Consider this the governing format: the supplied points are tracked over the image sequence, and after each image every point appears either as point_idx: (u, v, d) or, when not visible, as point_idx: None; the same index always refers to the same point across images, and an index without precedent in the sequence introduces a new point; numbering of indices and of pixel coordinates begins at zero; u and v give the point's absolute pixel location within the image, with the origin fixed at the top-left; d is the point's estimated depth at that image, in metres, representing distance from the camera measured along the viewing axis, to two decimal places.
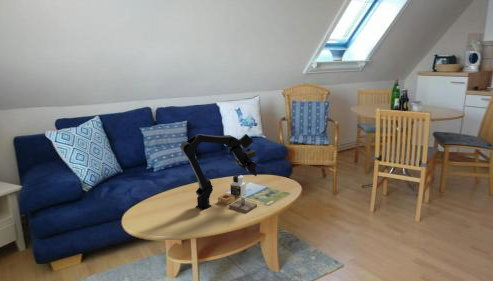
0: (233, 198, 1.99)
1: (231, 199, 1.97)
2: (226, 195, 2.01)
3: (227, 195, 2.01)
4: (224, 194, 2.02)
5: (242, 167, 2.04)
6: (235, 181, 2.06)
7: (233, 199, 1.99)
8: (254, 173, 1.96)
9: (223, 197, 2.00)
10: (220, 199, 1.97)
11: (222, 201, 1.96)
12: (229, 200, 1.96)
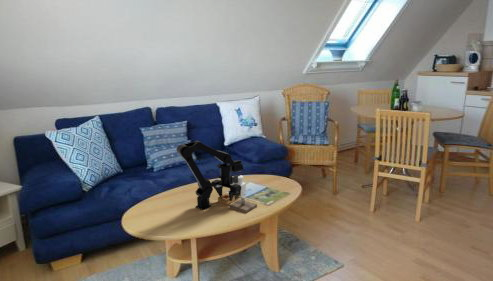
0: (233, 198, 1.99)
1: None
2: (226, 195, 2.01)
3: (227, 195, 2.01)
4: (224, 194, 2.02)
5: (218, 191, 1.99)
6: None
7: (233, 199, 1.99)
8: (231, 197, 1.96)
9: (223, 197, 2.00)
10: (220, 199, 1.97)
11: (222, 201, 1.96)
12: (229, 200, 1.96)
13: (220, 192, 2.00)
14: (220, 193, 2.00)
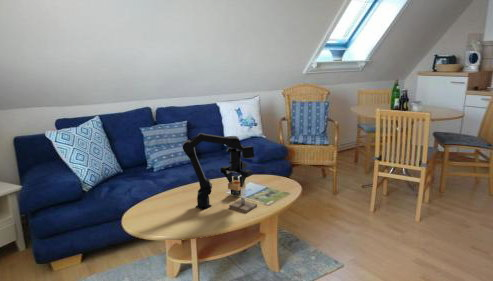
0: (244, 184, 1.92)
1: None
2: (236, 181, 1.94)
3: (237, 181, 1.94)
4: (234, 180, 1.95)
5: (228, 177, 1.92)
6: None
7: (244, 185, 1.92)
8: (242, 183, 1.89)
9: (233, 183, 1.93)
10: (230, 185, 1.90)
11: (233, 187, 1.89)
12: (240, 186, 1.89)
13: (230, 178, 1.93)
14: (230, 179, 1.93)
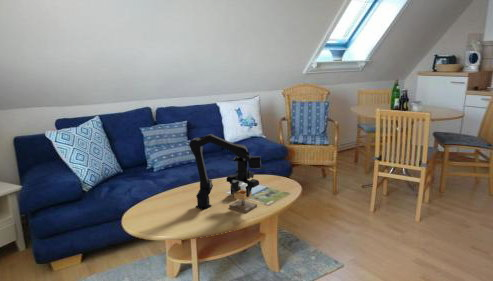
0: (250, 194, 1.89)
1: None
2: (242, 191, 1.92)
3: (244, 191, 1.91)
4: (240, 190, 1.93)
5: (234, 186, 1.89)
6: None
7: (250, 195, 1.90)
8: (248, 193, 1.86)
9: (239, 193, 1.91)
10: (236, 195, 1.88)
11: (239, 197, 1.87)
12: (246, 196, 1.87)
13: (236, 187, 1.91)
14: (236, 189, 1.91)
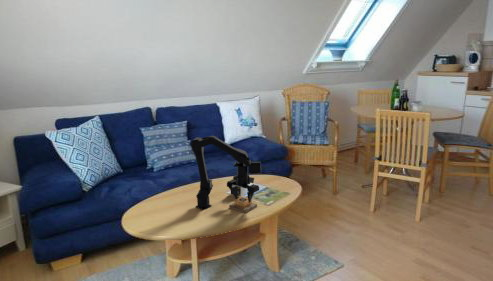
0: None
1: (248, 202, 1.89)
2: None
3: None
4: (241, 197, 1.94)
5: (233, 191, 1.90)
6: None
7: (250, 202, 1.90)
8: (250, 198, 1.86)
9: (240, 200, 1.91)
10: (237, 202, 1.88)
11: (239, 204, 1.88)
12: (247, 203, 1.88)
13: (235, 192, 1.92)
14: (235, 193, 1.92)
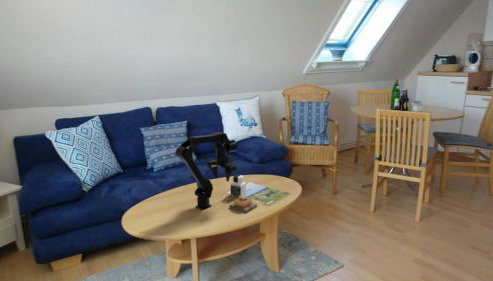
0: (250, 201, 1.90)
1: (248, 202, 1.89)
2: None
3: None
4: (241, 197, 1.94)
5: (213, 171, 1.99)
6: (235, 181, 2.06)
7: (250, 202, 1.90)
8: (228, 178, 1.95)
9: (240, 200, 1.91)
10: (237, 202, 1.88)
11: (239, 204, 1.88)
12: (247, 203, 1.88)
13: (215, 172, 2.01)
14: (215, 173, 2.01)
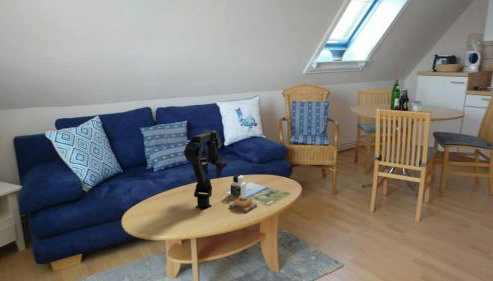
0: (250, 201, 1.90)
1: (248, 202, 1.89)
2: None
3: None
4: (241, 197, 1.94)
5: (203, 168, 2.04)
6: (235, 181, 2.06)
7: (250, 202, 1.90)
8: (218, 174, 2.00)
9: (240, 200, 1.91)
10: (237, 202, 1.88)
11: (239, 204, 1.88)
12: (247, 203, 1.88)
13: (205, 169, 2.05)
14: (205, 170, 2.05)
